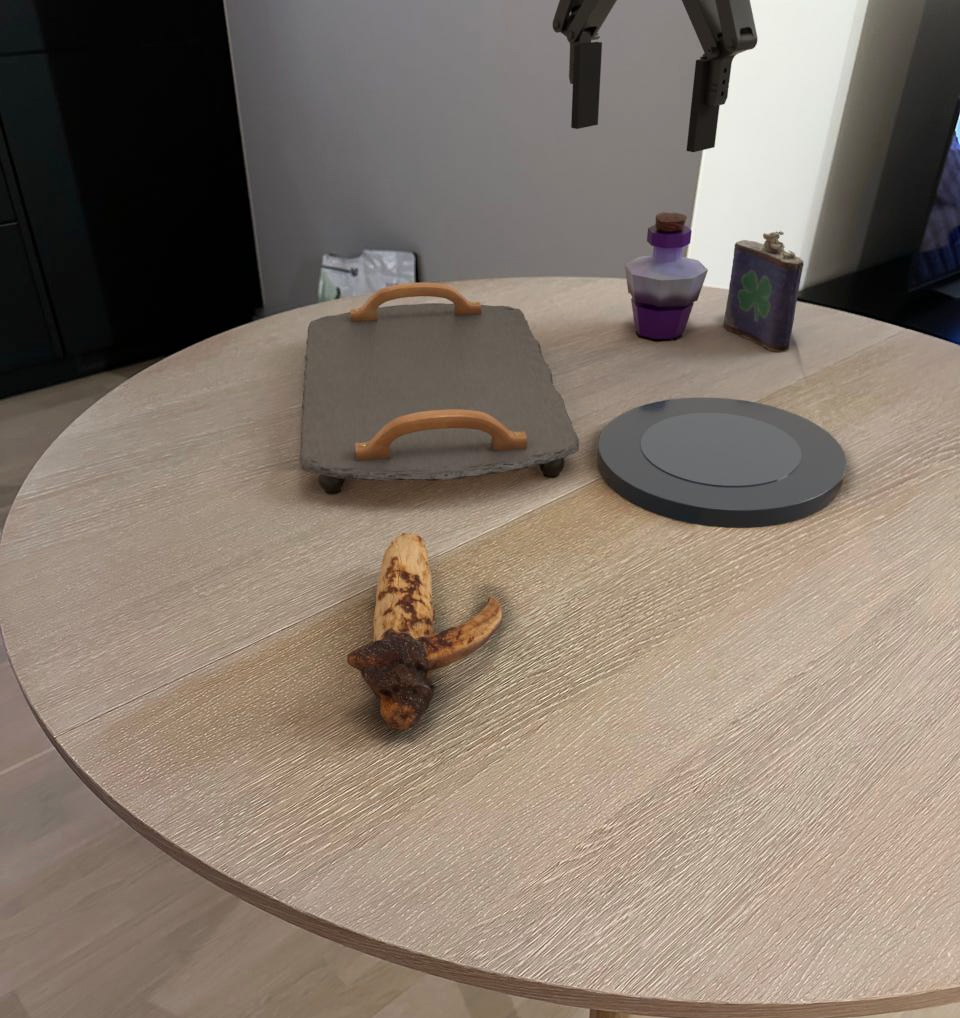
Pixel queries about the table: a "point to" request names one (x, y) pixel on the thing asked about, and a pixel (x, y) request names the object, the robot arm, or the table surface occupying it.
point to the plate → (721, 462)
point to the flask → (763, 292)
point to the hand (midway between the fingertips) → (639, 137)
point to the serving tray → (428, 393)
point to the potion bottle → (664, 281)
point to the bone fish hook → (413, 635)
